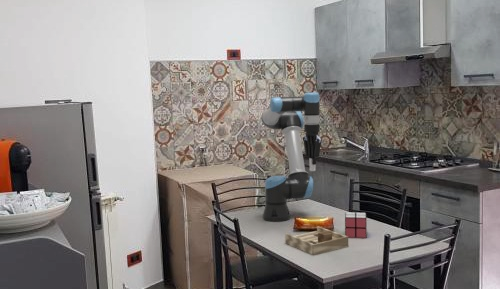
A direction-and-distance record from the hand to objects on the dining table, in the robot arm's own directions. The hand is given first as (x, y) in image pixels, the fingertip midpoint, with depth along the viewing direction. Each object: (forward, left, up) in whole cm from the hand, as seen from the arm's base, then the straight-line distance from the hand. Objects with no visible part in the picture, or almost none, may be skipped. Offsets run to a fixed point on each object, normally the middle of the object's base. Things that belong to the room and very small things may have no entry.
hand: (312, 170), depth 253 cm
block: (+26, -14, -28) cm, 40 cm away
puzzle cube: (+19, +11, -31) cm, 38 cm away
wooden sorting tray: (+19, -14, -30) cm, 38 cm away
